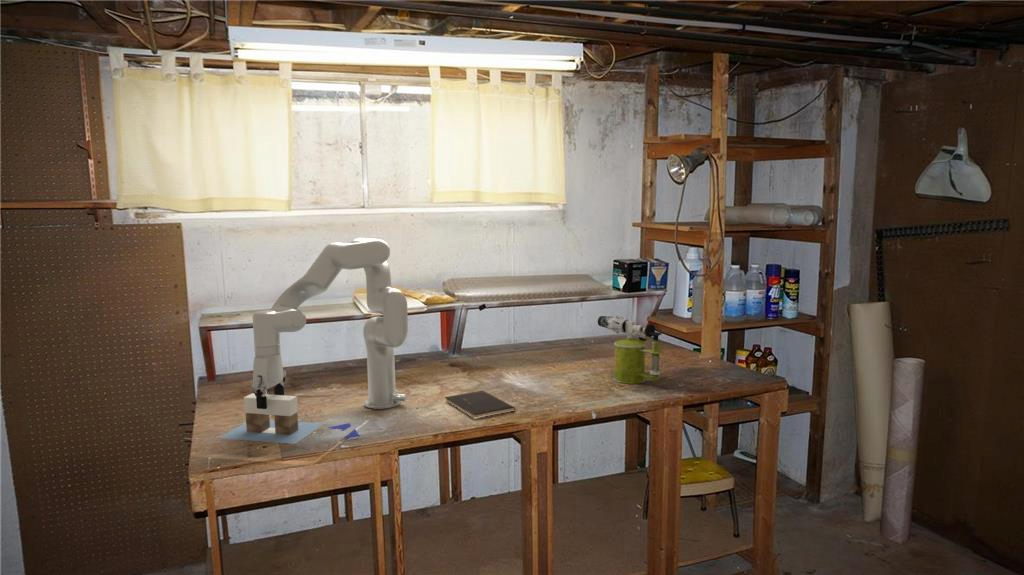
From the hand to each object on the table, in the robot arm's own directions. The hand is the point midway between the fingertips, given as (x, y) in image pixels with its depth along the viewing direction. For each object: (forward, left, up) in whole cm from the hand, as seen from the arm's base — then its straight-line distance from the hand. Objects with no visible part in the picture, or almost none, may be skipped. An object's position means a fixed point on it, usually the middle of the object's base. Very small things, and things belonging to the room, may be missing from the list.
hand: (271, 403), depth 213 cm
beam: (0, 0, -3) cm, 3 cm away
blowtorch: (-107, -83, -10) cm, 136 cm away
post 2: (-5, 0, -9) cm, 10 cm away
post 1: (+5, 0, -9) cm, 10 cm away
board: (0, 0, -10) cm, 10 cm away
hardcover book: (-57, -39, -11) cm, 70 cm away
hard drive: (-22, -4, -11) cm, 25 cm away
